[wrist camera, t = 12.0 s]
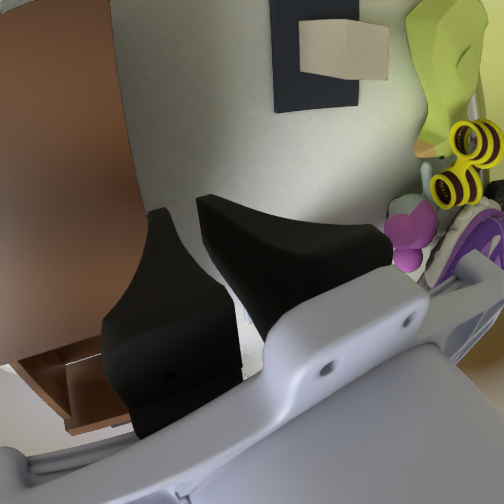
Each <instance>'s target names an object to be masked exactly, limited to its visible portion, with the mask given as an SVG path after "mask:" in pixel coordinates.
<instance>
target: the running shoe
mask: <svg viewBox="0 0 504 504" xmlns="http://www.w3.org/2000/svg"><path fill="white" fill-rule="evenodd" d="M473 249H476V250H478V251H479V252H480V253H482V254H483V255H484V256H486V257H487V258H488V259H490V260H491V261H492V262H493V263H495V264H496V265H497V266H499V267H500V268H501V269H502V270H504V213H503V212H502V211H501V207H500V206H499V204H498V203H497V202H495V201H493V200H492V199H489V200H488V199H487V198H486V197H484V196H482V197H481V200H480V201H479V202H478V203H477V204H474V205H470V204H466V205H464V206H463V207H462V208H461V209H460V210H459V211H458V212H457V214H456V215H455V217H454V218H453V220H452V222H451V223H450V225H449V227H448V231H447V233H446V234H445V235H443V236H442V238H441V239H440V240H439V241H438V243H437V244H436V246H435V247H434V249H433V251H432V252H431V254H430V257H429V259H428V261H427V263H426V268H425V271H424V273H423V274H422V275H421V277H420V279H419V280H418V282H417V284H418V285H420V286H421V287H422V288H423V289H424V290H425V291H426V292H427V293H428V292H429V291H431V290H432V289H434V288H435V287H437V286H438V285H440V284H441V283H443V282H444V281H446V280H447V279H448V278H450V277H451V276H453V275H454V272H455V268H456V266H457V264H458V262H459V260H460V259H461V258H462V257H463V256H464V255H466V254H467V253H469V252H470V251H472V250H473Z"/></svg>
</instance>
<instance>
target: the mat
mask: <svg viewBox="0 0 504 504" xmlns="http://www.w3.org/2000/svg"><path fill="white" fill-rule="evenodd" d="M270 18H271V38H272V61H273V86H274V112H275V113H284V112H292V111H301V110H310V109H321V108H332V107H346V106H358V94H359V80H345V79H340V78H335V77H330V76H325V75H319V74H313V73H307V72H301V71H300V45H299V21H305V20H326V19H348V20H354V21H359V0H270Z"/></svg>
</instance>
